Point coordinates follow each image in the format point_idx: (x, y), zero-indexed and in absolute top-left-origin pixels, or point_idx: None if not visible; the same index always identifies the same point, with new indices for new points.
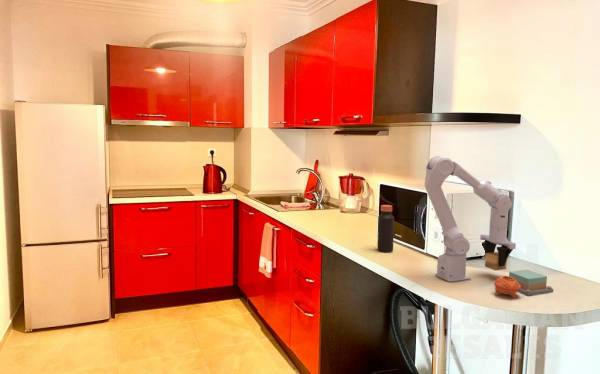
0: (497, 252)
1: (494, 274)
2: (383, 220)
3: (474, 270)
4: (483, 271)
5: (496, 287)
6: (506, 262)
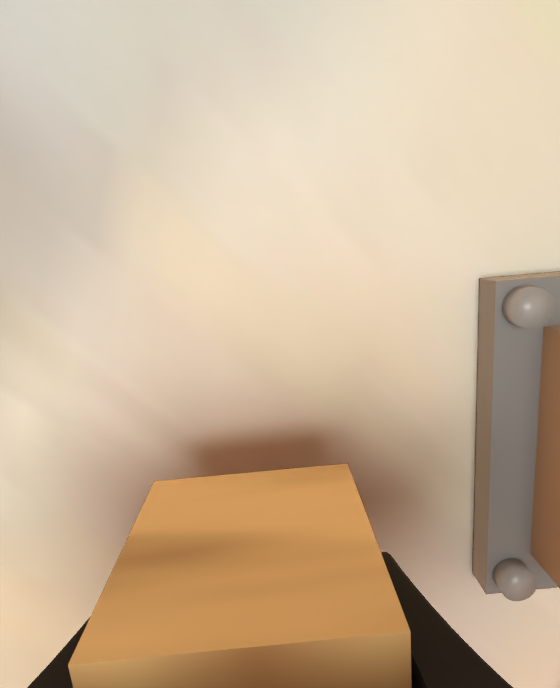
0: (118, 672)
1: (179, 430)
2: None
3: (12, 537)
4: (60, 473)
5: None
6: (369, 526)
